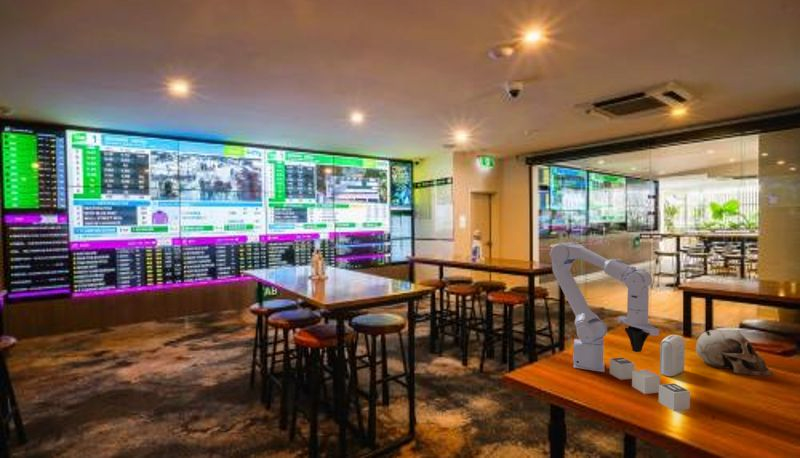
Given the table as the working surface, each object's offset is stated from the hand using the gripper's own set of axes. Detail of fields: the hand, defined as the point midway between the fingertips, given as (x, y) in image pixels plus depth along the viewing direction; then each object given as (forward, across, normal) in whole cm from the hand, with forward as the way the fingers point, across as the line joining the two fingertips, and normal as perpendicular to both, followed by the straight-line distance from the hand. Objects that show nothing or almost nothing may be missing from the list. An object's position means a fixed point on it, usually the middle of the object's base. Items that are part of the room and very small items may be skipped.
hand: (636, 351), depth 126 cm
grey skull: (+10, +2, -39) cm, 40 cm away
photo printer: (+10, +3, -16) cm, 19 cm away
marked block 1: (+10, +4, +2) cm, 10 cm away
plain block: (+10, -6, +2) cm, 11 cm away
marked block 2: (+10, -16, +2) cm, 19 cm away
